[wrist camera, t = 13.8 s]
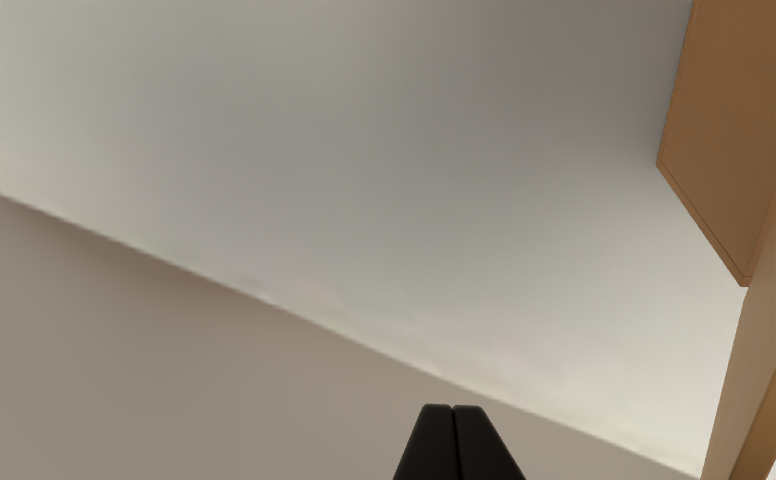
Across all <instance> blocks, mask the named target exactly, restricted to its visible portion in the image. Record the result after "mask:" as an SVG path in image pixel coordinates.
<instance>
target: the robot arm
mask: <svg viewBox="0 0 776 480" xmlns="http://www.w3.org/2000/svg"><path fill="white" fill-rule="evenodd" d="M393 480H526V478H525V476H524V475H523V473H522V472H521V470H520V468H519V467H518V465H517V464H516V462H515V460H514V459H513V457H512V455H511V454H510V452H509V451H508V449H507V447H506V446H505V444H504V442H503V441H502V439H501V438H500V436H499V434H498V433H497V431H496V430H495V428H494V426H493V425H492V423H491V422H490V420H489V418H488V417H487V415H486V413H485V412H484V410H483V409H482V408H481V407H479V406H472V405H455V406H454V407H453V408H451V406H449V405H446V404H425V405H424V406H423V407H422V409H421V412H420V414H419V417H418V419H417V421H416V424H415V426H414V429H413V431H412V434H411V436H410V438H409V441H408V443H407V446H406V448H405V451H404V453H403V455H402V458H401V460H400V463H399V465H398V468H397V470H396V472H395V475H394V478H393Z"/></svg>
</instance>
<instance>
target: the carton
mask: <svg viewBox="0 0 776 480" xmlns="http://www.w3.org/2000/svg"><path fill="white" fill-rule="evenodd" d="M656 166H657V168H658V169H659V170H660V172H661V173H662V175H663V176H664V178H665V179H666V180H667V182H668V183H669V185H670V186H671V188H672V189H673V191H674V192H675V193H676V195H677V196H678V198H679V199H680V201H681V202H682V204H683V205H684V206H685V208H686V209H687V211H688V212H689V214H690V215H691V217H692V218H693V219H694V221H695V222H696V224H697V225H698V227H699V228H700V229H701V231H702V232H703V234H704V235H705V237H706V238H707V240H708V241H709V242H710V244H711V245H712V247H713V248H714V250H715V251H716V253H717V254H718V255H719V257H720V258H721V260H722V261H723V263H724V264H725V265H726V267H727V268H728V270H729V271H730V273H731V274H732V276H733V277H734V278H735V280H736V281H737V283H738V284H739V286H740V287H749V285H750V282H751V279H752V277H753V274H754V271H755V268H756V266H757V263H758V260H759V257H760V254H761V252H762V249H763V246H764V243H765V241H766V238H767V235H768V232H769V229H770V227H771V224H772V221H773V218H774V216H775V213H776V0H694V1H693V5H692V10H691V14H690V18H689V23H688V27H687V31H686V36H685V40H684V45H683V49H682V53H681V58H680V62H679V66H678V71H677V75H676V79H675V84H674V88H673V93H672V97H671V101H670V106H669V110H668V114H667V119H666V123H665V128H664V132H663V136H662V141H661V145H660V149H659V154H658V158H657V162H656Z"/></svg>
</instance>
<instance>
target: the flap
mask: <svg viewBox="0 0 776 480" xmlns="http://www.w3.org/2000/svg"><path fill="white" fill-rule="evenodd" d="M775 460H776V213H775V216H774V218H773V221H772V224H771V227H770V229H769V232H768V235H767V238H766V241H765V243H764V246H763V249H762V252H761V254H760V257H759V260H758V263H757V266H756V268H755V271H754V274H753V277H752V279H751V282H750V285H749V288H748V291H747V293H746V296H745V299H744V302H743V306H742V310H741V314H740V318H739V322H738V327H737V331H736V335H735V339H734V343H733V347H732V351H731V355H730V360H729V364H728V368H727V372H726V376H725V380H724V384H723V388H722V393H721V397H720V401H719V405H718V409H717V413H716V417H715V421H714V426H713V430H712V434H711V438H710V442H709V446H708V450H707V454H706V459H705V463H704V467H703V471H702V475H701V479H700V480H766V478H767V476H768V474H769V472H770V470H771V468H772V466H773V464H774V462H775Z"/></svg>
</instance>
